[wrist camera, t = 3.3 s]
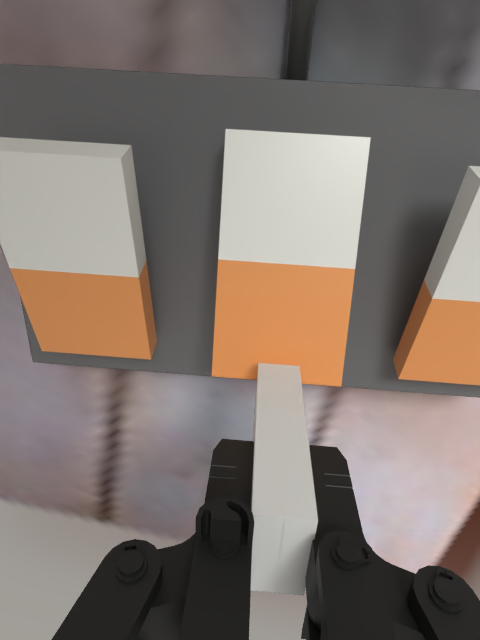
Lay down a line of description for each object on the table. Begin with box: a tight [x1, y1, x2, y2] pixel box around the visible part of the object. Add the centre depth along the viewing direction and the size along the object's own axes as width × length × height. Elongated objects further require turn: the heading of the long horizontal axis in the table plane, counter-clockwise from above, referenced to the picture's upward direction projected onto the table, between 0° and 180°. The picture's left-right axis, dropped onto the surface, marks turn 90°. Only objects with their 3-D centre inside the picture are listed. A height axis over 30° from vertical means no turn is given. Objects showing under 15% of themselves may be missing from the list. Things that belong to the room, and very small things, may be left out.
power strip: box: [0, 0, 480, 398], centre depth 18 cm, size 22×24×4 cm
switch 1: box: [0, 137, 157, 360], centre depth 17 cm, size 9×5×2 cm, turn 177°
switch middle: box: [212, 129, 371, 387], centre depth 16 cm, size 9×5×2 cm, turn 177°
